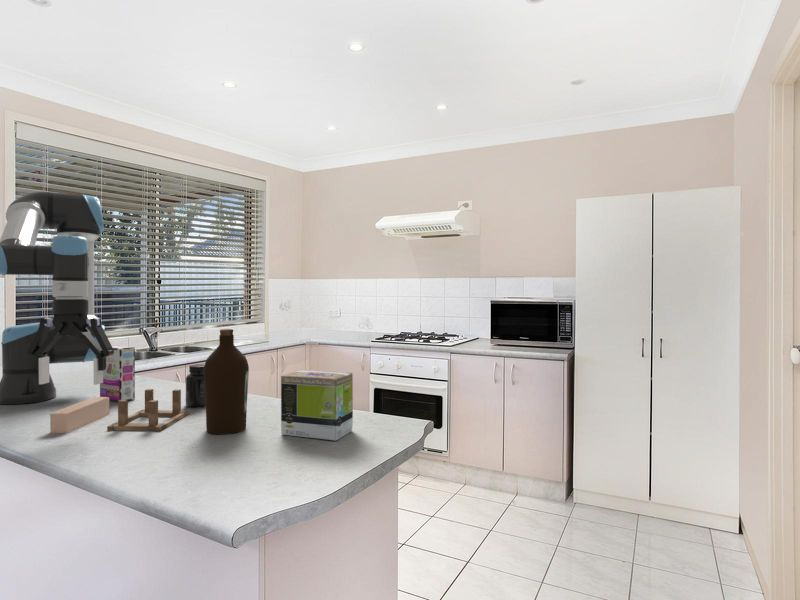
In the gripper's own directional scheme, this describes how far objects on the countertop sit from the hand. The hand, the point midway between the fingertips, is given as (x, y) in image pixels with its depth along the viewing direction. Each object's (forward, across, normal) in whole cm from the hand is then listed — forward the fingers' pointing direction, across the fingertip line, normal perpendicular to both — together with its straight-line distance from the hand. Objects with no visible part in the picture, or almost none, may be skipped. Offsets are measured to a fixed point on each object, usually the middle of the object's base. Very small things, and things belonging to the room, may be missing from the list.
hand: (71, 383), depth 127 cm
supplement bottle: (+11, +22, +24) cm, 35 cm away
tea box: (+12, +62, -2) cm, 63 cm away
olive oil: (+12, +39, 0) cm, 40 cm away
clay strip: (+11, 0, +4) cm, 12 cm away
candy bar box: (+11, -6, +32) cm, 34 cm away
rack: (+11, +17, +6) cm, 21 cm away
